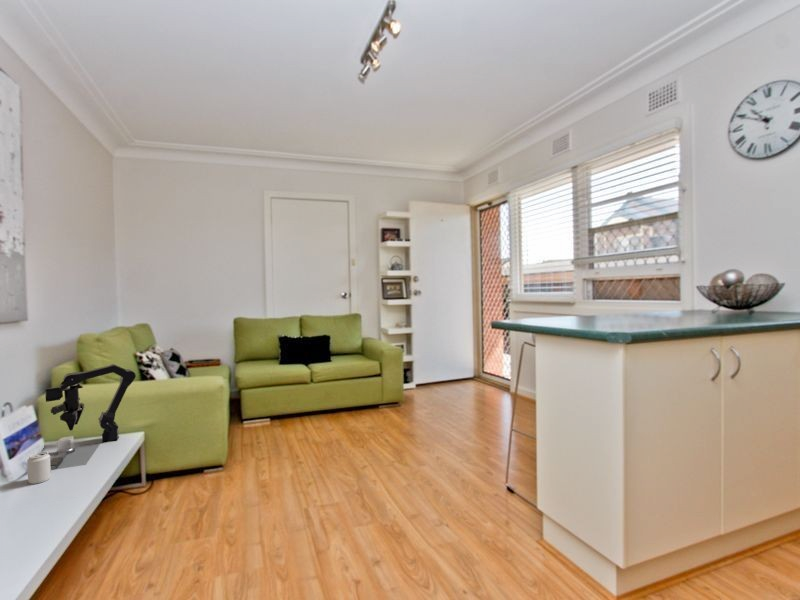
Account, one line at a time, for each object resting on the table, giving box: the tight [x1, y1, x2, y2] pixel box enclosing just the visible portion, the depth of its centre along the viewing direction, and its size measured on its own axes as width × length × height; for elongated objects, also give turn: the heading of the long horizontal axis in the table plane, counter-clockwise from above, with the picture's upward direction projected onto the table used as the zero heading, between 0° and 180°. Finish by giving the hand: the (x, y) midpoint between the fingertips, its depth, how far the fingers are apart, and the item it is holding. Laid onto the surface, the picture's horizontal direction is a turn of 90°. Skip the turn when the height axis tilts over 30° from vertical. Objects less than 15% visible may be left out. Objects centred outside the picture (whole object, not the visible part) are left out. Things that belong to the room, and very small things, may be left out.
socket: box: [57, 435, 75, 451], centre depth 208 cm, size 5×5×5 cm
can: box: [26, 451, 52, 485], centre depth 179 cm, size 8×8×12 cm
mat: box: [50, 442, 102, 470], centre depth 203 cm, size 18×28×1 cm, turn 24°
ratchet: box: [50, 445, 76, 471], centre depth 200 cm, size 7×24×4 cm, turn 24°
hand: (73, 427), depth 213 cm, fingers open, 9 cm apart
